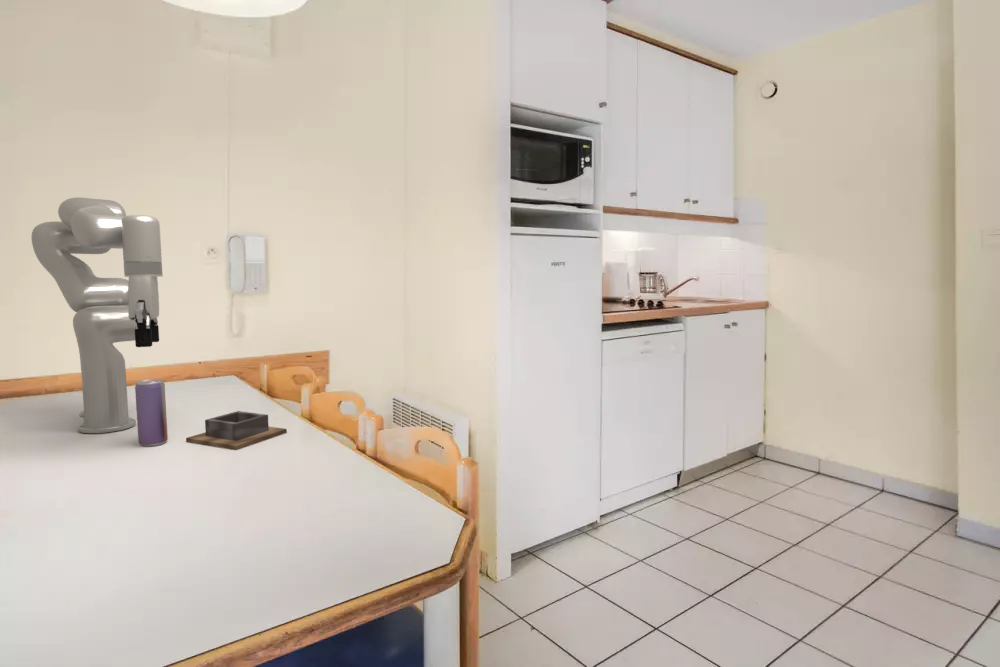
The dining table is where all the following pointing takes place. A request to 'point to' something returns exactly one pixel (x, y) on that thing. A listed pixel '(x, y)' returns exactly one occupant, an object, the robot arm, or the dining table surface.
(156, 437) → the beverage can
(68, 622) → the dining table surface
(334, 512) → the dining table surface
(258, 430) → the can holder
